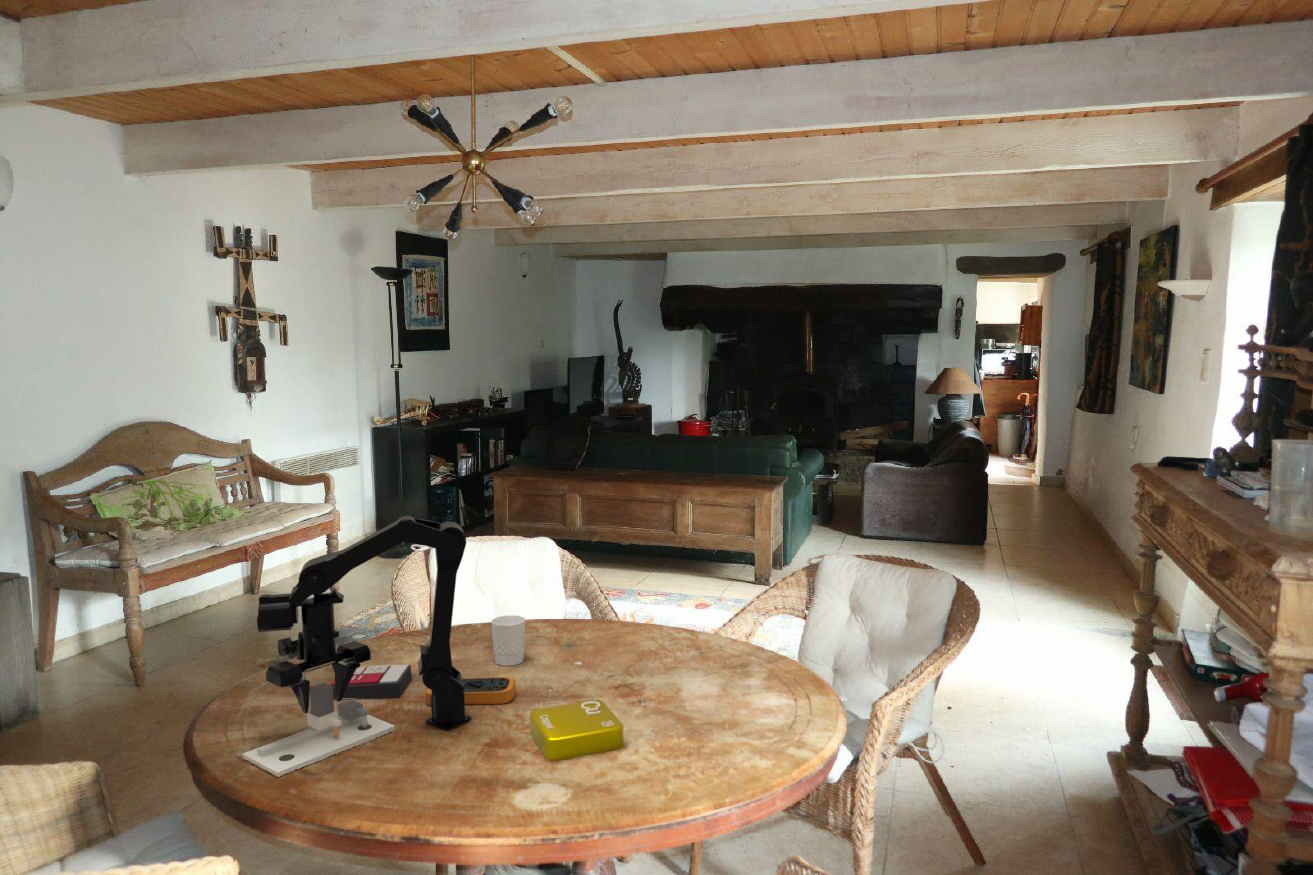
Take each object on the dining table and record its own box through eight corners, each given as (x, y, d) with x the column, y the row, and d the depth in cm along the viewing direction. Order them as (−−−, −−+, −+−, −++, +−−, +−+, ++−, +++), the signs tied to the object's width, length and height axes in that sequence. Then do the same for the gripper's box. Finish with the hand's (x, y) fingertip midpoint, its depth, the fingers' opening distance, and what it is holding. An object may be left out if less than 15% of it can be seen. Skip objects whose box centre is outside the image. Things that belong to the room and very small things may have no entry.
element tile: (527, 731, 173) (527, 707, 172) (601, 718, 178) (601, 695, 178) (547, 764, 159) (546, 738, 158) (626, 749, 164) (626, 724, 164)
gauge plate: (395, 730, 172) (394, 707, 172) (277, 778, 153) (276, 752, 153) (358, 715, 180) (357, 693, 179) (242, 759, 161) (241, 734, 160)
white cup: (488, 658, 212) (487, 617, 211) (520, 653, 216) (519, 613, 215) (497, 669, 205) (496, 627, 204) (530, 664, 209) (529, 622, 208)
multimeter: (512, 706, 185) (511, 690, 184) (424, 708, 184) (424, 692, 184) (516, 690, 193) (516, 674, 193) (433, 692, 192) (432, 677, 192)
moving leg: (348, 733, 168) (346, 690, 167) (329, 741, 165) (327, 696, 164) (326, 724, 172) (324, 681, 171) (307, 731, 169) (305, 687, 168)
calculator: (343, 666, 199) (411, 661, 199) (345, 684, 199) (412, 680, 200) (326, 684, 188) (398, 679, 188) (328, 704, 188) (399, 699, 189)
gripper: (338, 607, 180) (341, 682, 181) (248, 631, 165) (252, 712, 167) (371, 617, 173) (374, 695, 175) (280, 643, 158) (284, 727, 160)
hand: (322, 706), depth 169 cm, fingers open, 7 cm apart
